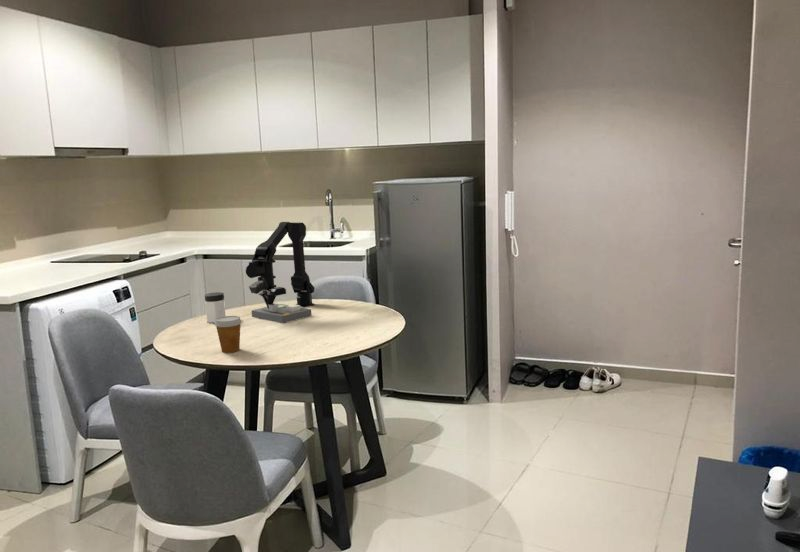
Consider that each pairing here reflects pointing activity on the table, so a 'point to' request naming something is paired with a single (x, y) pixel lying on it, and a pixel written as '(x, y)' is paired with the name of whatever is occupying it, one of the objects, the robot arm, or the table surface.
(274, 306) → the slider knob
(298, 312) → the control panel
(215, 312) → the jar
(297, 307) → the offwhite button
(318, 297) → the table surface
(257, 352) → the table surface
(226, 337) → the disposable coffee cup
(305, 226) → the robot arm
